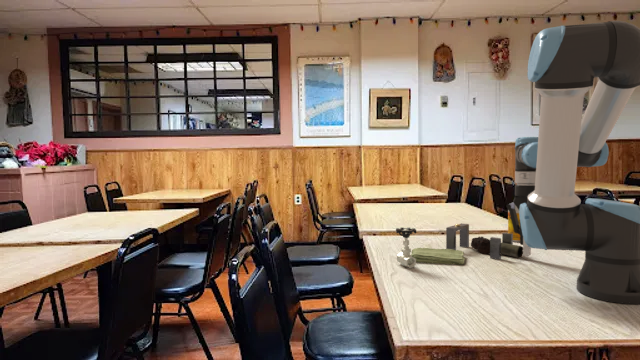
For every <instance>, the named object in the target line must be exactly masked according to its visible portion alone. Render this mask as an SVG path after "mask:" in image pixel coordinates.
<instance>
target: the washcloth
mask: <svg viewBox="0 0 640 360" xmlns="http://www.w3.org/2000/svg"><path fill="white" fill-rule="evenodd" d="M410 255H411V256H412V257H413V258H415V259H416V264H417V263H420V264H434V265H435V264H437V265H440V264H441V265H444V264H445V265H459V266H463V265H465V260H466V257H465V256H464V255H465V251H462V250H458V249H456V250H453V249H446V248H432V247H431V248H430V247H417V248H416V247H415V248H413V249H411V253H410Z"/></svg>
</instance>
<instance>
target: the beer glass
mask: <svg viewBox="0 0 640 360" xmlns="http://www.w3.org/2000/svg"><path fill="white" fill-rule="evenodd" d="M515 210H516V214H517V218H518V222H519V226H520V215H519V210H518V208H517V207H516V205H515ZM507 233H511V234H513V242H514V243H520V235H519V234H518V233H515V232H514V229H513V225H512V220H511V216H510V212H509V210H508V209H507Z"/></svg>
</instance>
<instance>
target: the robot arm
mask: <svg viewBox="0 0 640 360" xmlns="http://www.w3.org/2000/svg"><path fill="white" fill-rule="evenodd" d="M527 63H528V64H527V80H528V81H529V82H531V83H534V90H535V91H536V92H537V93H538V94H539V95H540V111H539V123H538V136H522V137H517V138H515V147H514V150H515V151H514V154H515V155H514V157H515V158H514V161H515V163H514V166H515V167H514V183H515V184H516V185H514V198H513V200H512V201H513V202H511V203H509V204H508V203H507V204H506V205H505V207H506V208H507V211H508V210H509V212H510V216H511V220H512V225H513V229H514V232H515V233H518V234H519V235H520V242H519V243H520V244H519V245H520V246H522V247H523V256H525V257H530V256H531V254H532V253H531V252H532V251H531V249H540V250H544V251H547V250H551V251H552V250H553V251H579V252H580V251H583V252H585V253H584V262H583V264H582V266H581V269H580V271H579V273H578V276H577V278H576V290H577V292H579V293H580V294H583V295H584V296H587V297H590V298H593V299H596V300H599V301H605V302H610V303H617V304H627V305H628V304H629V305H640V205H637V204H636V203H635V204H634V203H629V202H623V201H617V200H611V199H602V198H593V197H592V198H591V197H589V198H586V200H585V202H584V203H585V204H583V203H581V202H582V200H581V198H580V197H579V196H578V195H577V194H576V193H575V189H576V180H577V172H578V171H577V170H578V169H577V168H578V167H579V168H581V167H584V168H585V167H586V168H592V167H601V166H604V165H605V164H606V163H607V161H608V158H609V156H610V155H609V153H610V151H609V146H608V143H607V142H606V141H607V140H608V138H609V136H610V135H611V133H612V131H613V130H614V127H615V125H616V124H617V122H618V120H619V118H620V116H621V114H622V113H623V111H624V109H625V108H626V105H627V103H628V102H629V100H630V99H631V96H632V94H633V93H634V91H635V89H636V88H639V87H640V27H639V26H637V25H635V24H633V23H631V22H627V21H623V20H610V21H606V22H593V23H582V24H581V23H580V24H569V25H563V24H561V25H560V26H559V25H558V26H554V27H546V28H544V29H542V30H540V31H539V32H538V33H537V34H536V35H535V38H534V40H533V42H532V45H531V48H530V52H529V56H528V62H527ZM595 78H597V79H598V81H597V83H596V85H595V87H594V80H595ZM593 87H594V91H593V93H592V95H591V97H590V100H589V101H588V104H587V107H586V109H585V111H584V113H583V110H584V109H583V107H584V101H585V100H584V98H585V94H586V93H588V92H589V91H590V90H591V89H592V88H593ZM515 205H516V207H517V208H518V210H519V215H520V226H519V222H518V218H517V214H516V210H515ZM523 256H522V257H523Z"/></svg>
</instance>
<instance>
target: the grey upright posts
mask: <svg viewBox="0 0 640 360" xmlns="http://www.w3.org/2000/svg"><path fill="white" fill-rule="evenodd" d="M445 230H446V231H445V234H446V235H445V239H446V240H445V241H446V242H445V245H446V246H445V247H446V248H445V249H453V250H457V232H459V247H462V248H469V247H470V224H469V223H456V224H454V225H451V226H447V227H446V229H445ZM501 234H502V235H501V237H502V238H501V237H494V236H491V237H490V239H489V240H490V254H489V257H490V258H489V259H491V260H492V259H493V260H498V261H499V260H501V259H502V254H501V243H507V244H512V245H514V243H513V234H511V233H508V232H503V233H501Z"/></svg>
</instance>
